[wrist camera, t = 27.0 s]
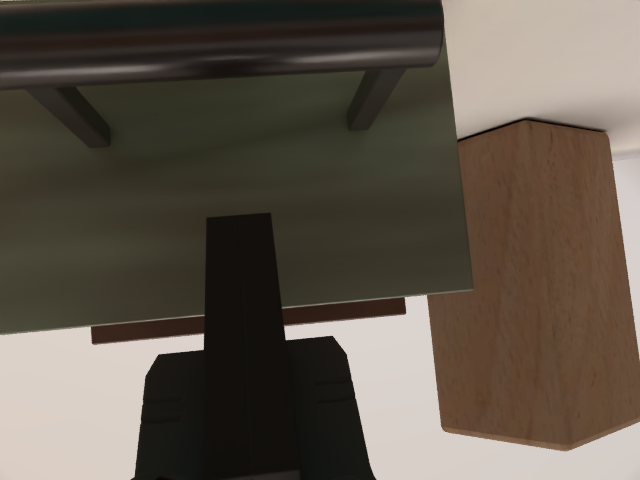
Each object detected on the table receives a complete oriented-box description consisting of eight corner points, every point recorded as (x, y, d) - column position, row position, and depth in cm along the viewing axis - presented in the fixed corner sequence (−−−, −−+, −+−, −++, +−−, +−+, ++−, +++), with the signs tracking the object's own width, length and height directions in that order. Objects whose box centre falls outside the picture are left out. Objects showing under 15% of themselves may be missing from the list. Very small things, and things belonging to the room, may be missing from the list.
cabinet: (77, 99, 27) (91, 344, 26) (382, 82, 29) (406, 314, 28) (146, 175, 44) (156, 328, 43) (337, 162, 45) (351, 309, 44)
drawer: (-196, -193, 10) (-186, 358, 9) (542, -198, 11) (607, 283, 11) (117, 146, 32) (127, 318, 31) (356, 130, 33) (372, 295, 32)
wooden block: (494, 163, 51) (523, 407, 49) (409, 155, 45) (439, 433, 43) (611, 131, 43) (651, 420, 41) (526, 116, 37) (568, 454, 35)
